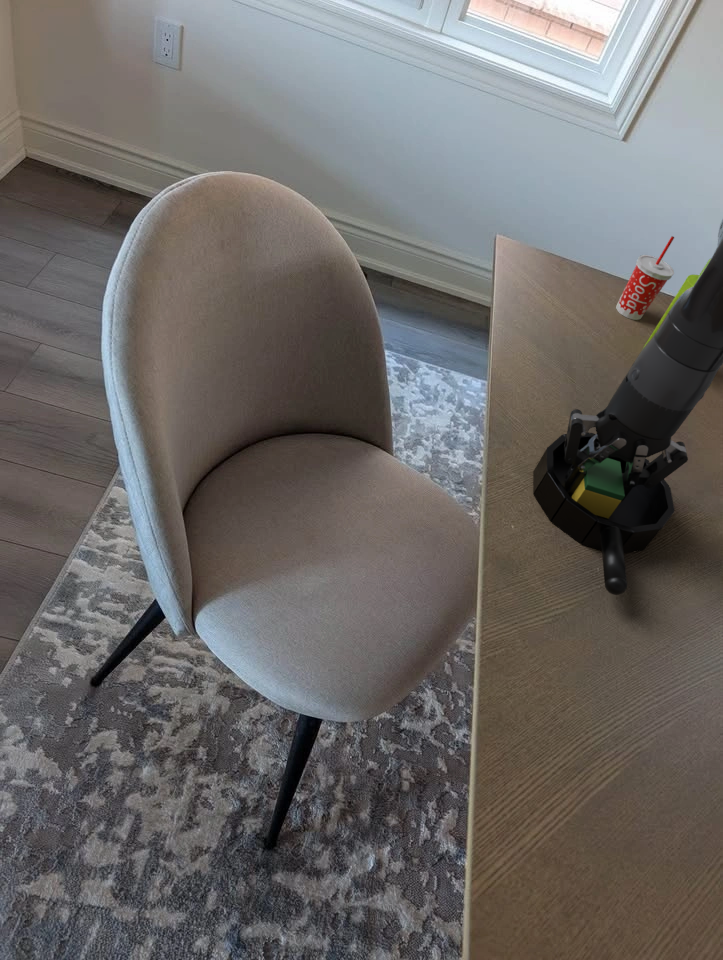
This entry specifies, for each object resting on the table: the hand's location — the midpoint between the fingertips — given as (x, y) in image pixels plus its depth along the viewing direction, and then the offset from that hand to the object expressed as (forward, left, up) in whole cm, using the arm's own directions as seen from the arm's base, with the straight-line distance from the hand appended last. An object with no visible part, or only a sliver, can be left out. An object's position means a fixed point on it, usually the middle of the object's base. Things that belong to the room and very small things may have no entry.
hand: (589, 494), depth 90 cm
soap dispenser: (-38, -16, -1) cm, 41 cm away
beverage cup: (-44, -27, -1) cm, 51 cm away
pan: (+2, +4, -1) cm, 4 cm away
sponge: (0, 0, 0) cm, 0 cm away
